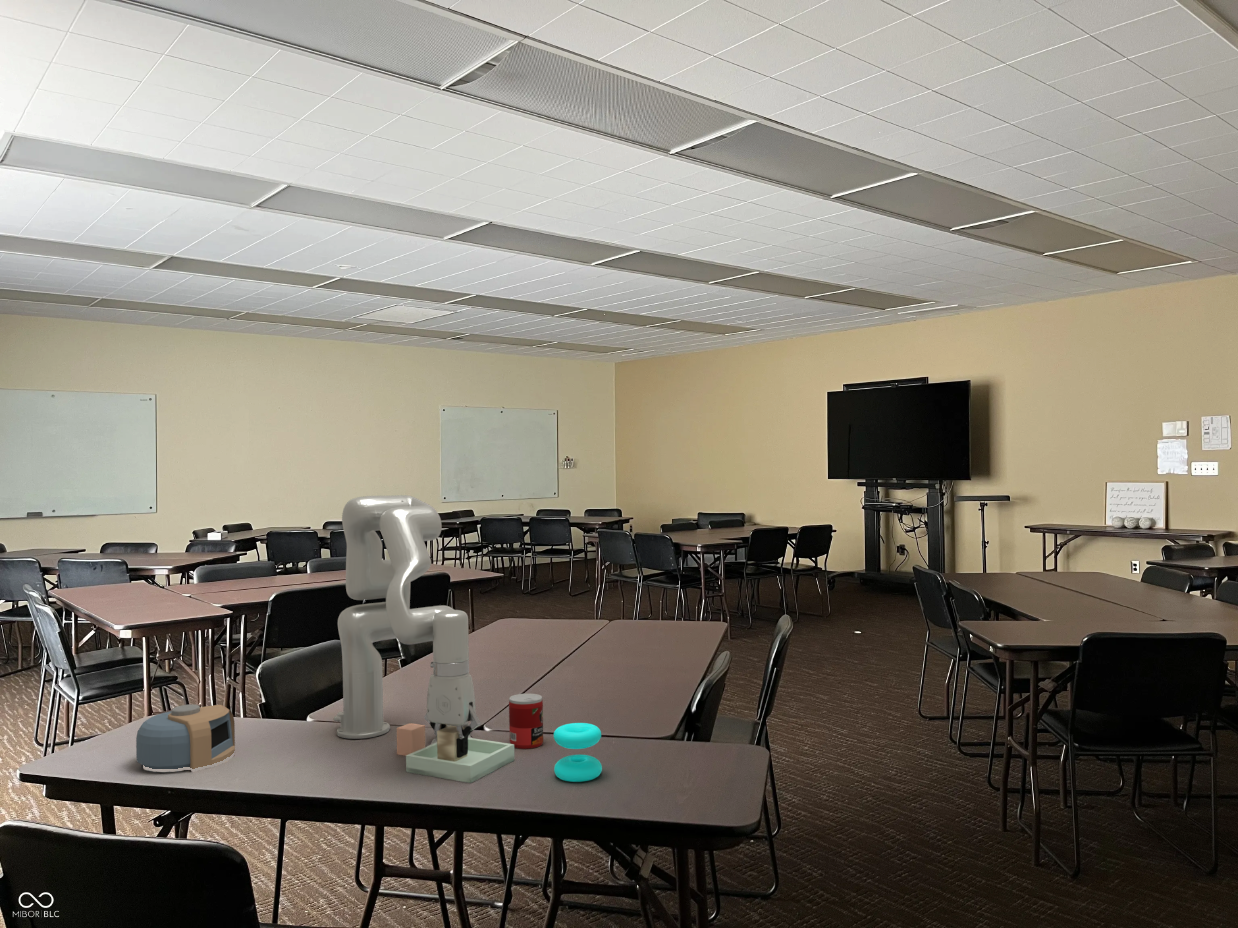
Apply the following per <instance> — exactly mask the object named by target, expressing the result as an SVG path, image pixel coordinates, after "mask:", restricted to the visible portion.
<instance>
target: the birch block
mask: <svg viewBox="0 0 1238 928" xmlns="http://www.w3.org/2000/svg"><path fill="white" fill-rule="evenodd" d="M463 730H464V728H463ZM457 738H459V737H458V732H457V727H456V726H448V727H446V728H443V729H441V730H438V731H437V759H442V760H448V761H454V762H456V761H458V760H460V759H462V758H464V757H466V756H467V755H464V756H462V757H460V758H458V757H457V742H456V739H457Z"/></svg>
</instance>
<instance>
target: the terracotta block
mask: <svg viewBox="0 0 1238 928" xmlns="http://www.w3.org/2000/svg"><path fill="white" fill-rule="evenodd" d="M425 747H426V725H425V724H419V723H413V722H412V723H411V722H408V723H407V724H404V725H402V726H399V727H396V755H398V756H405V757H406V755H409V754H411V753H413V752H415V751H418V750H420V749H422V748H425Z"/></svg>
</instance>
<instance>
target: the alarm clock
mask: <svg viewBox="0 0 1238 928" xmlns="http://www.w3.org/2000/svg"><path fill="white" fill-rule="evenodd" d="M235 729H236V728H235V719H234V714H233V713H232V711H231V710H230V709H229V708H227V707H226V706H224V705H223V704H215V705H209V706H208V705H207V706H206V705H205V706H201V707H200V705H198V704H182V705H178V706H175V707H173V708H172V709H171V711H170V710H169V711H165V712H162V713H158V714H155V715H154V716H151V717H149V718H148V719H146V720H145V721H143V722H142V723H141V725H140V727H139V728H138V730H137V734H136V737H135V738H136V740H135V742H136V743H135V747H136V758H135V759H136V762H137V763H138V764H140V765H141V766H142V765H144V766H145V767H149V768H152V769H178V768H183V767H190V768H192V769H195V768H198V767H203V766H207V765H212V764H214V763H217V762H220V761H223V760H224V759H226V758H227V757H230V756H231V755H232V754H233V753H234V751H235V752H236V742H235V740H236V739H235V738H236V736H235V735H236V733H235V732H236V731H235Z"/></svg>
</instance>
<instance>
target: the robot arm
mask: <svg viewBox="0 0 1238 928" xmlns="http://www.w3.org/2000/svg"><path fill="white" fill-rule="evenodd" d="M341 516H342V517H341V523H342V528H343V534H344V538H345V542H346V559H345V589H346V594H347V596H348V597H349V598H350V599H353V600H356V601H367V600H377V599H385V601H382V602H373V603H372V602H371V603H370V602H369V603H364V604H356V605H352V606H349V607H346V608H345V609H344V610H342V611H341V612H340V613H339V616H338V618H337V629H338V635H339V640H340V645H341V656H342V657H341V658H342V659H341V660H342V661H341V662H342V695H343V696H342V697H343V698H342V700H343V701H342V702H343V703H342V704H343V708H342V709H343V711H339V712H337V714H336V715H335V716H334V717H333V721H334V722H340V726H339V727H338V728H337V729H336V734H337V736H338V737H340V738H342V739H348V740H358V739H359V740H360V739H369V738H376V737H379V736H382V735H384V734H387V733H389V731H390V727H391V725H390V724H389V723H388V722H386V721H384V695H383V694H384V690H383V688H384V687H383V685H384V684H383V682H384V681H383V659H382V656H381V654H380V652H379V651H378V650H377V649H376V647H375V646H374V644H373V643H375V642H376V643H377V642H379V641H381V642H382V641H387V640H393V639H397V640H398V642H400V643H402V644H403V645H416V644H421V643H427V642H432V655H433V656H432V658H433V659H432V661H431V662H430V665H429V666H430V668H431V669H432V668H433V673H432V674H431V675H430V676H429V681H428V687H427V696H426V713H425V714H424V716H423V718H424V720H425V721H426V722H427V723H428V724H429V725H430V727H431V728H432V730H433V734H434V735H435V737H436V736H437V731H438V730H441V729H443V728H446V727H447V725H455V726H456V727H457V732H458V737H459V738H457V739H456V742H457V757H458V758H460V757H462V756H464V755H467V754H468V736H471V734H472V733H473V731H474V730H476V729H477V728H479V727H480V726H481V720H480V719H479V717H478V715H477V713H476V697H475V689H474V688H475V687H474V683H473V678H472V675H471V674H470V657H469V655H470V652H469V649H470V648H469V647H470V646H469V616H468V613H466V612H465V611H463V610H460V609H454V608H452V607H451V606H448V605H444V604H443V605H433V606H425V607H418V608H417V607H415V608H411V607H410V606H411V603H410V602H411V601H410V600H411V582H413V581H415V580H417V579H418V578H420V577H421V576H423V575H425V574H426V572H428V571H429V569H430V568H431V566H432V559H431V557H430V554H429V552H428V551H429V550H428V549H427V546H426V544H425V542H427V541H429V542H430V541H434V540H437V538H438V537H440V535H441V532H442V519H441V517H440V514H439V513H438V511H437V509H436V508H434V507H433V506H432V505H430V504H429V503H427V502H426V501H422V500H421V499H419V498H417V497H415V496H411V495H408V494H407V495H406V494H405V495H403V494H399V495H398V494H397V495H366V496H357V497H354V498H352V499H350V500H348V501H347V502H346V503H345V504H344V507H343V510H342V513H341ZM376 531H380V533H381V535H382V539H383V542H384V546H385V548H386V551H387V553H388V557H389V559H383V542H382V540H381V538H380V536H379V535H378V533H377V532H376ZM469 722H470V723H469ZM463 728H464V730H463Z"/></svg>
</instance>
